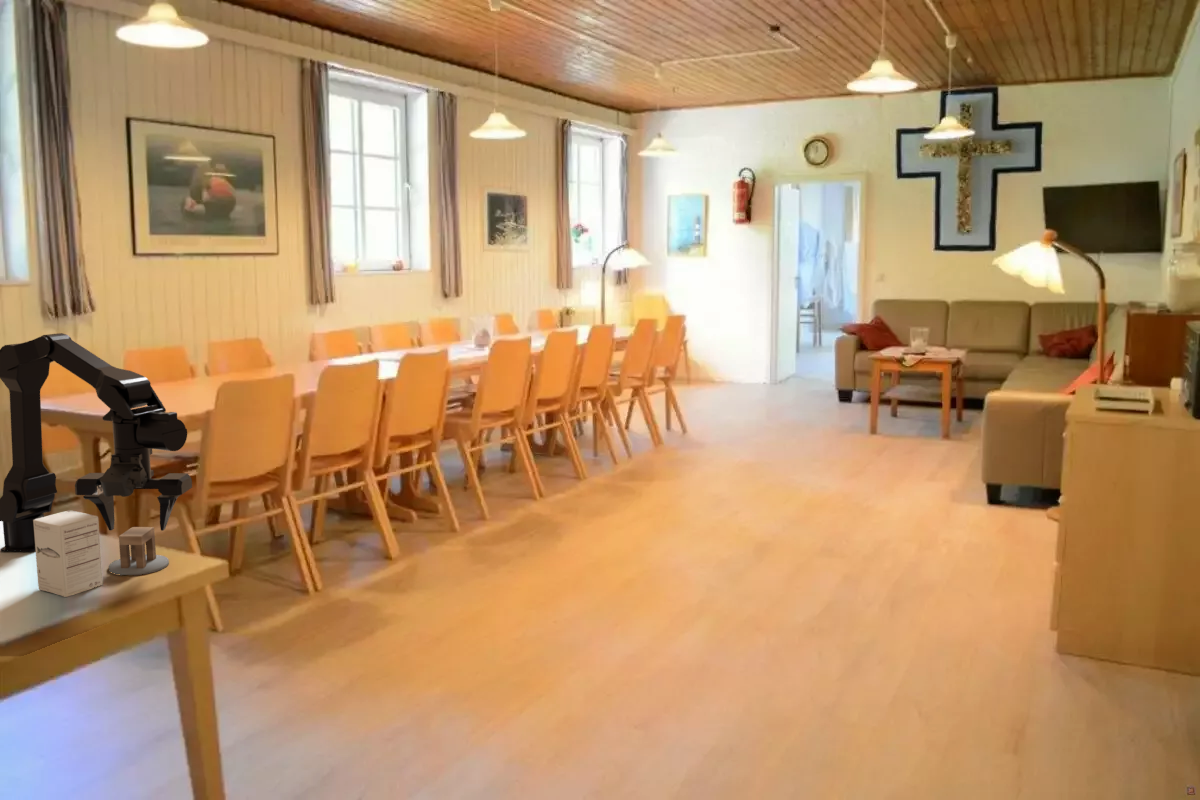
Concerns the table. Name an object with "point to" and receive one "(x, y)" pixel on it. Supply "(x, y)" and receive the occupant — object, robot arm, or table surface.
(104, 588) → the table surface
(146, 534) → the walnut stool
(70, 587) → the supplement box
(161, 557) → the slate mat
